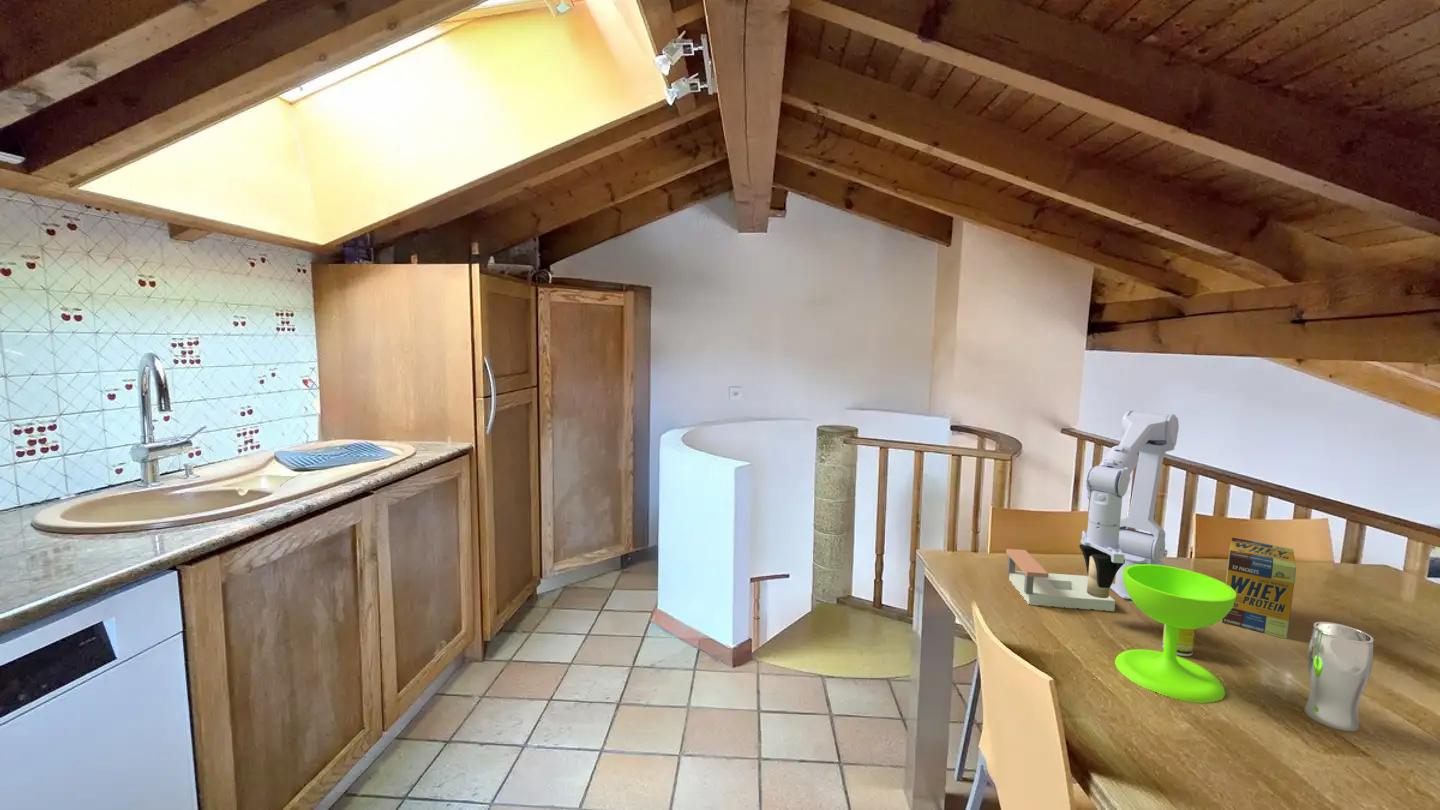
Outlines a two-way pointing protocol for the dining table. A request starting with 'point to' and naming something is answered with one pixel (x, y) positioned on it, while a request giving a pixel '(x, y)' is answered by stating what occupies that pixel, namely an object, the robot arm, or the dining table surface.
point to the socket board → (1061, 592)
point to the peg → (1095, 582)
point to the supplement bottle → (1183, 641)
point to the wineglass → (1174, 629)
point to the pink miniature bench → (1025, 567)
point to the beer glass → (1338, 674)
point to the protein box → (1261, 586)
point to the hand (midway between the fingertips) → (1098, 582)
